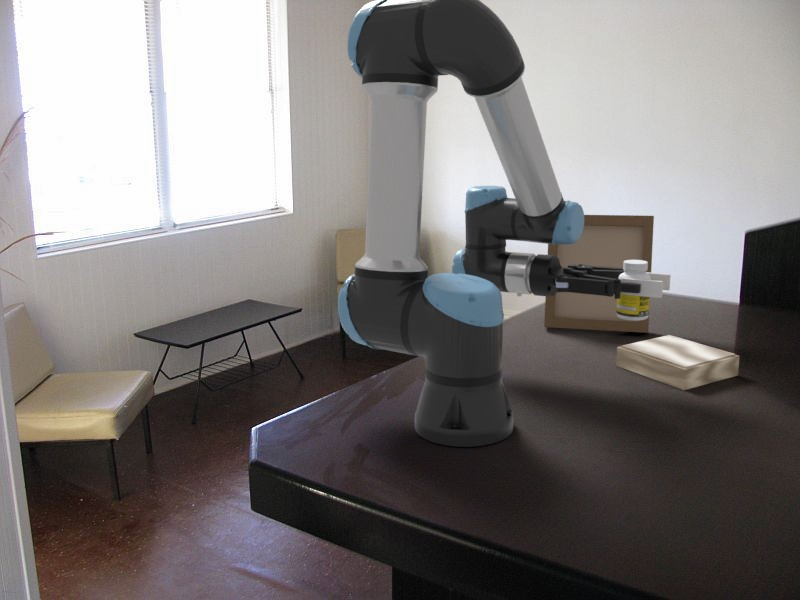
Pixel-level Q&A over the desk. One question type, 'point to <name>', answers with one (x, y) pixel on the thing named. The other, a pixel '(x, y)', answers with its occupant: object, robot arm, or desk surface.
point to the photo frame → (605, 247)
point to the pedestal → (677, 361)
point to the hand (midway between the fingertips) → (665, 285)
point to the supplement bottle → (630, 304)
